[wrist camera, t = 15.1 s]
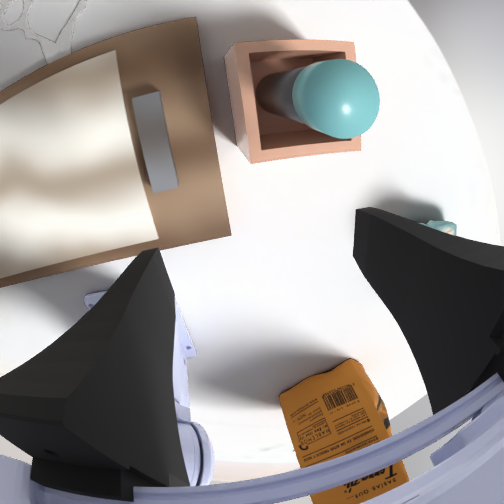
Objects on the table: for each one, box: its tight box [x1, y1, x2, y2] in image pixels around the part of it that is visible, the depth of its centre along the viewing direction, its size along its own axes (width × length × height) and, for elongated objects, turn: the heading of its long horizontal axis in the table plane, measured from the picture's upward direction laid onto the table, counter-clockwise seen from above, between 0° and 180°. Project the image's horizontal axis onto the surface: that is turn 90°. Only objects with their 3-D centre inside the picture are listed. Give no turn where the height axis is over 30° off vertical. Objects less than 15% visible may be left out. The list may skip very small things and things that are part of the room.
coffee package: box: [279, 359, 409, 504], centre depth 26 cm, size 10×12×22 cm
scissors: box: [0, 0, 87, 64], centre depth 12 cm, size 11×1×20 cm
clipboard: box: [0, 17, 231, 288], centre depth 15 cm, size 15×24×2 cm, turn 97°
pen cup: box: [224, 39, 361, 164], centre depth 15 cm, size 6×6×5 cm
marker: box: [256, 59, 380, 139], centre depth 12 cm, size 3×3×9 cm
